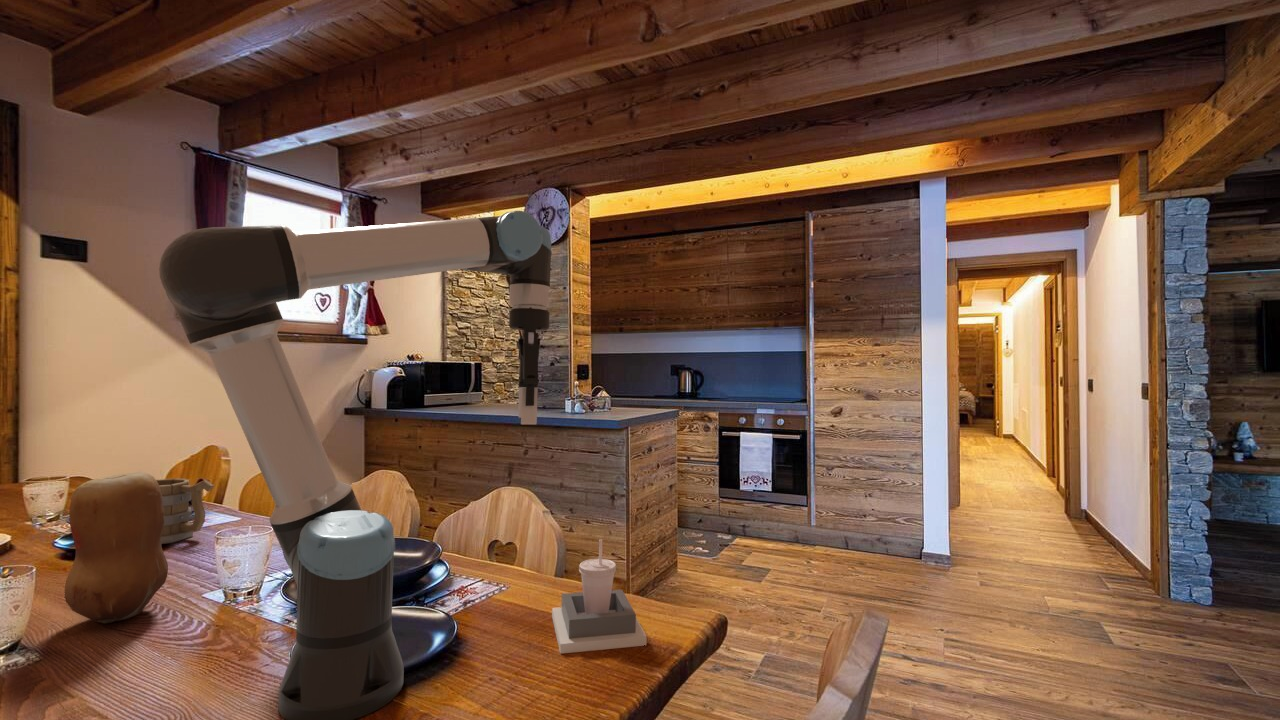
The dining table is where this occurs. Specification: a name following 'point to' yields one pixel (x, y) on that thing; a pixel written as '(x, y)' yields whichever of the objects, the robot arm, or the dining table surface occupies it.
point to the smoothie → (597, 583)
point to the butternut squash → (116, 547)
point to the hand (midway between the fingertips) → (526, 420)
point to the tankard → (181, 508)
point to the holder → (596, 625)
